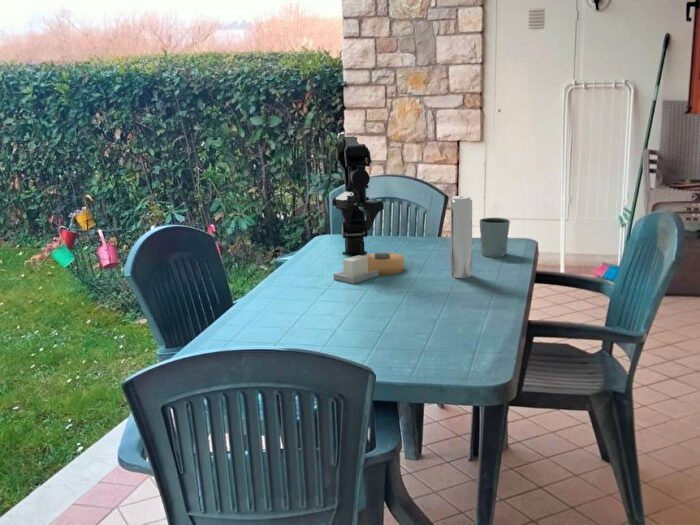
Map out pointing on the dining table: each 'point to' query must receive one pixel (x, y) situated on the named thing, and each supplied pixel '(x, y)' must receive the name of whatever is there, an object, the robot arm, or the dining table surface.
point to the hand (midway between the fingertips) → (358, 228)
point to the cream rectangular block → (355, 266)
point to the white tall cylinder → (461, 237)
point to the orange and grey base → (376, 267)
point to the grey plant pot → (494, 236)
